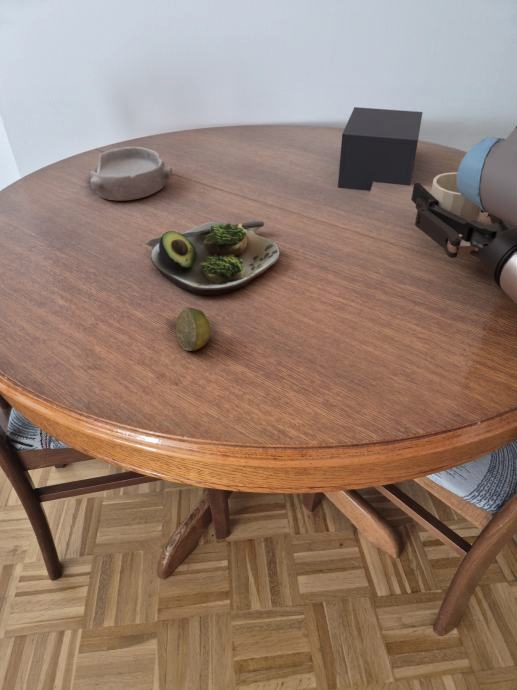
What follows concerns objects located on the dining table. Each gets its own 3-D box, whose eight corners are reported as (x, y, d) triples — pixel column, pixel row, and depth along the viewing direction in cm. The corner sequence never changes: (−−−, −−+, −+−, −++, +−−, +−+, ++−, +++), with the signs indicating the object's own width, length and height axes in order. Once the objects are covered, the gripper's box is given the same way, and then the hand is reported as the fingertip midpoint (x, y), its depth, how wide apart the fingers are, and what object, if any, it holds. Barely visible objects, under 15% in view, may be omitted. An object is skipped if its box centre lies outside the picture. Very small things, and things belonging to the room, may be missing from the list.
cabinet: (349, 156, 109) (354, 107, 103) (413, 162, 106) (422, 111, 100) (337, 187, 99) (342, 133, 92) (408, 194, 96) (418, 140, 90)
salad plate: (228, 215, 91) (227, 189, 88) (308, 254, 81) (309, 226, 78) (132, 259, 81) (127, 231, 78) (210, 310, 71) (207, 280, 68)
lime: (202, 360, 64) (199, 327, 60) (167, 349, 65) (161, 317, 62) (219, 337, 67) (217, 305, 64) (185, 328, 68) (181, 296, 65)
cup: (471, 229, 85) (486, 175, 80) (472, 253, 80) (488, 197, 74) (423, 224, 87) (434, 170, 81) (420, 247, 82) (432, 191, 76)
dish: (96, 209, 93) (90, 181, 90) (88, 177, 103) (82, 151, 100) (179, 196, 97) (175, 168, 94) (163, 166, 107) (160, 141, 104)
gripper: (442, 303, 67) (374, 218, 84) (588, 281, 70) (494, 203, 87) (455, 251, 62) (380, 171, 79) (611, 229, 65) (507, 157, 82)
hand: (440, 188), depth 83 cm, fingers closed on cup, 7 cm apart
